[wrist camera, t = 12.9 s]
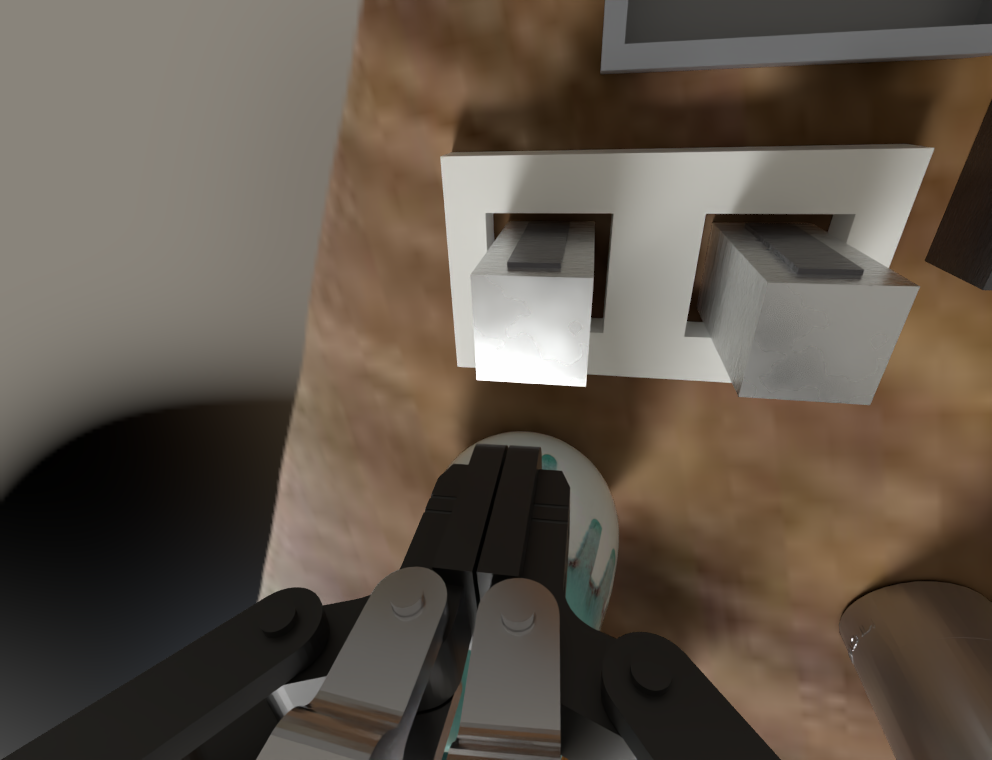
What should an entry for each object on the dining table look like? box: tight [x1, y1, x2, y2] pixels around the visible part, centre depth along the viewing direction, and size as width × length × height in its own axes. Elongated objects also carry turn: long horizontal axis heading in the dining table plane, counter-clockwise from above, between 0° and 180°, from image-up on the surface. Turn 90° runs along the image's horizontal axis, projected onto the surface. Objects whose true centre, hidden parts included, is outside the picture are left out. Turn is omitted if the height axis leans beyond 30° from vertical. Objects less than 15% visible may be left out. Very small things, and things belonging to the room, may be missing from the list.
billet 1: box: [470, 221, 595, 387], centre depth 22 cm, size 4×5×9 cm
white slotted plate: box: [441, 144, 934, 383], centre depth 24 cm, size 20×11×2 cm, turn 92°
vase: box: [442, 431, 619, 760], centre depth 26 cm, size 12×12×18 cm
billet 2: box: [696, 222, 920, 405], centre depth 20 cm, size 4×5×9 cm
